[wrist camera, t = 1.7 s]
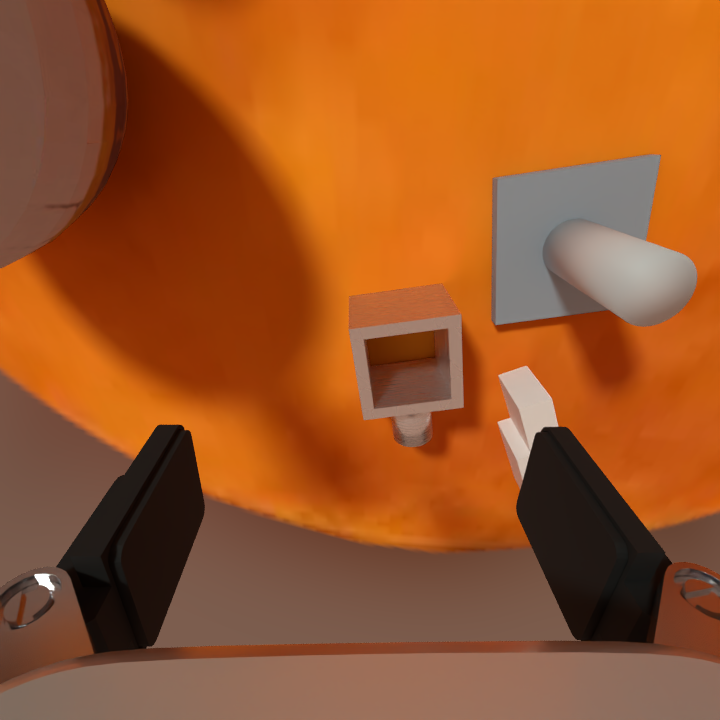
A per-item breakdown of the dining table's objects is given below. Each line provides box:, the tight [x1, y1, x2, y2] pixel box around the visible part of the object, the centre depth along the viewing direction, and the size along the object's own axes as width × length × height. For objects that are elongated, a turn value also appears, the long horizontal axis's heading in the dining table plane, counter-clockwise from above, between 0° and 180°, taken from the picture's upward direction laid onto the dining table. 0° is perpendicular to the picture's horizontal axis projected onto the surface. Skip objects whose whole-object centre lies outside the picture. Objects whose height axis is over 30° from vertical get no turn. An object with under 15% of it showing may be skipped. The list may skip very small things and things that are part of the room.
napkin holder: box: [497, 366, 558, 489], centre depth 34 cm, size 15×11×6 cm
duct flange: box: [492, 154, 697, 326], centre depth 25 cm, size 10×10×10 cm
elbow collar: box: [349, 284, 464, 447], centre depth 30 cm, size 10×7×6 cm, turn 8°
